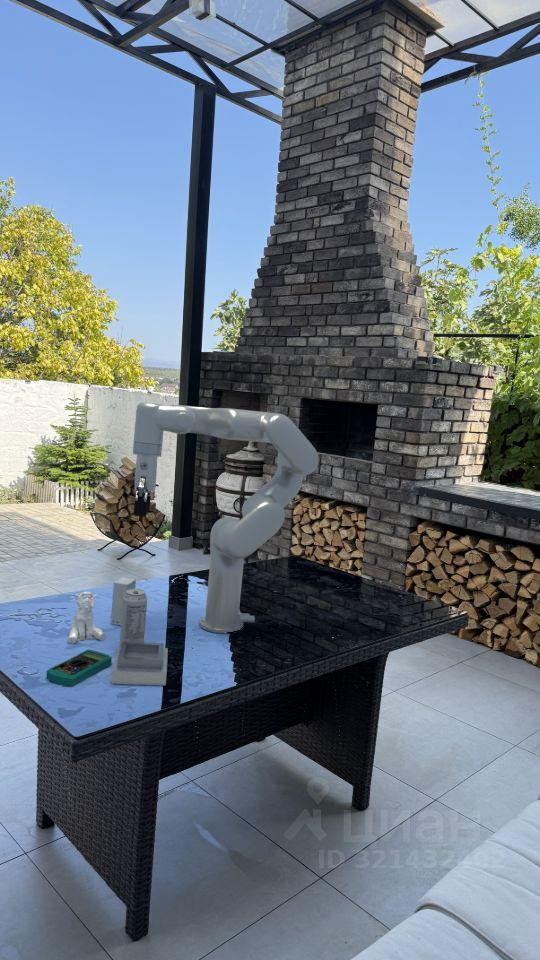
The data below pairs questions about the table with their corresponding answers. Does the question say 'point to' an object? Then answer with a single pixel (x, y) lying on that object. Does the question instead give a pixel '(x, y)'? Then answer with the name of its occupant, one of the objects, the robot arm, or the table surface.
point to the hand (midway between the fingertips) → (141, 512)
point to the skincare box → (120, 598)
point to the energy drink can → (133, 616)
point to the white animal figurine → (84, 620)
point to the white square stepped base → (140, 664)
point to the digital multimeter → (78, 667)
